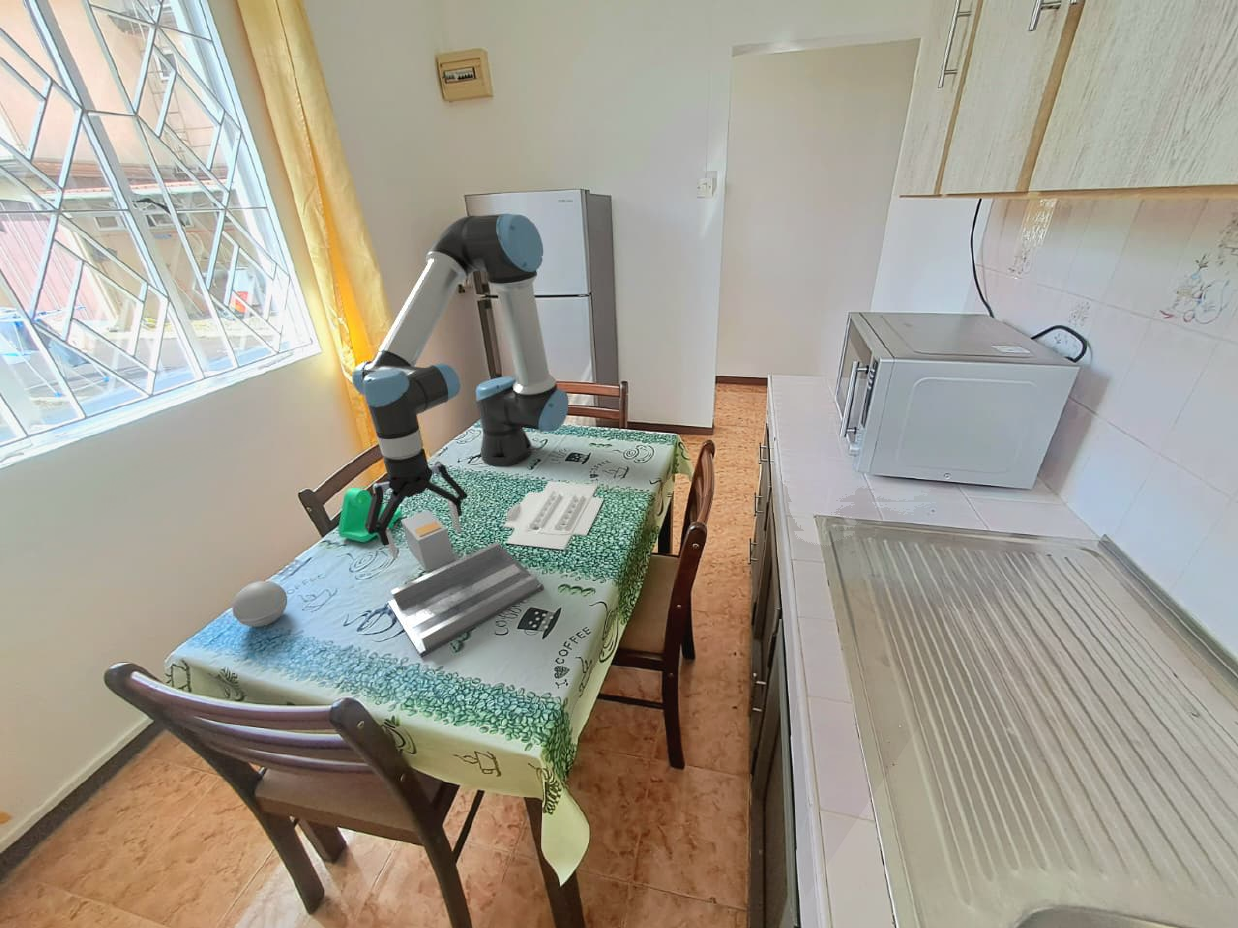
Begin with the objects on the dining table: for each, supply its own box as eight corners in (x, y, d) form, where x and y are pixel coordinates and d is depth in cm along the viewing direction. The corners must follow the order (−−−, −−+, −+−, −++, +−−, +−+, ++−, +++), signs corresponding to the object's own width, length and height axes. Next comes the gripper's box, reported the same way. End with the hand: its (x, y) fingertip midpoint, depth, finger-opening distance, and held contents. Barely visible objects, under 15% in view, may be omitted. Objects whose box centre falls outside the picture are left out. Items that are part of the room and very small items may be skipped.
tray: (610, 488, 128) (609, 476, 126) (580, 558, 104) (578, 545, 103) (537, 483, 132) (535, 471, 131) (492, 549, 109) (489, 535, 107)
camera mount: (366, 546, 109) (353, 508, 104) (341, 540, 112) (327, 502, 107) (405, 517, 119) (394, 481, 114) (381, 512, 121) (369, 476, 117)
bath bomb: (282, 598, 95) (266, 566, 91) (301, 614, 91) (286, 581, 87) (235, 624, 89) (216, 591, 85) (254, 643, 85) (235, 609, 81)
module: (436, 538, 110) (428, 508, 107) (454, 559, 103) (446, 527, 100) (409, 550, 107) (400, 519, 103) (426, 572, 100) (417, 539, 96)
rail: (503, 551, 105) (501, 538, 103) (543, 589, 94) (541, 575, 92) (389, 606, 92) (385, 592, 90) (421, 657, 81) (416, 642, 79)
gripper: (456, 428, 103) (473, 512, 113) (327, 465, 89) (359, 558, 99) (472, 438, 98) (488, 526, 108) (337, 480, 84) (370, 576, 94)
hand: (427, 541), depth 103 cm, fingers open, 13 cm apart
